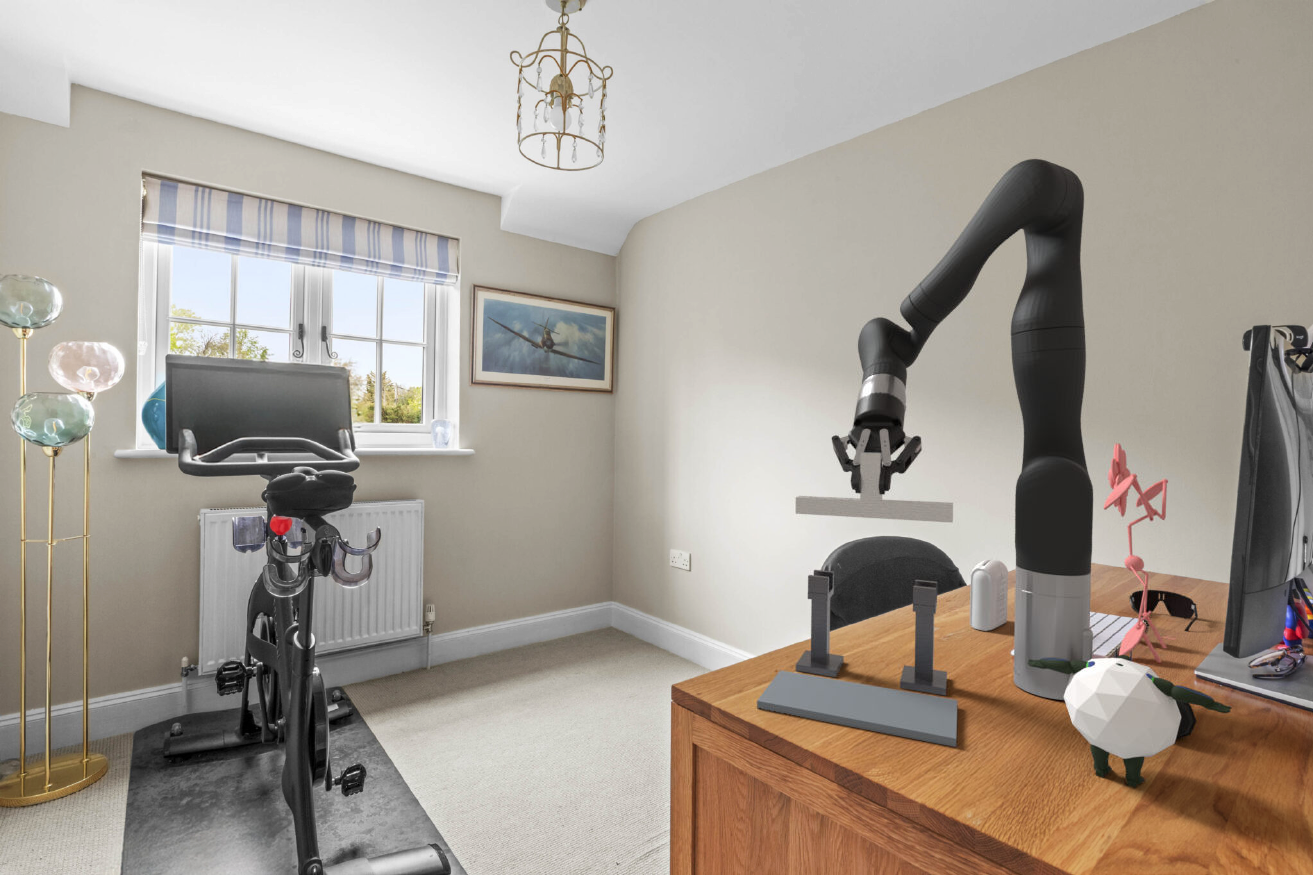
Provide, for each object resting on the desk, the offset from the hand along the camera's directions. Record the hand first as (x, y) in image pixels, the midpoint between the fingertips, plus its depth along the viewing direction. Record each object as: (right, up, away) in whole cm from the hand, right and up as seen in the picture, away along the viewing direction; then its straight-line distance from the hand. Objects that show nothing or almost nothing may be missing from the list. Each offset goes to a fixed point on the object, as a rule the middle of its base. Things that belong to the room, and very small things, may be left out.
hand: (869, 489), depth 95 cm
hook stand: (+1, -28, +4) cm, 28 cm away
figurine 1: (+47, -28, +17) cm, 58 cm away
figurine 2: (+19, -29, -24) cm, 42 cm away
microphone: (+36, -29, -10) cm, 47 cm away
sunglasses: (+68, -29, +32) cm, 80 cm away
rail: (+1, -4, +2) cm, 5 cm away
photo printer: (+32, -28, +29) cm, 51 cm away
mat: (-4, -28, -8) cm, 30 cm away
